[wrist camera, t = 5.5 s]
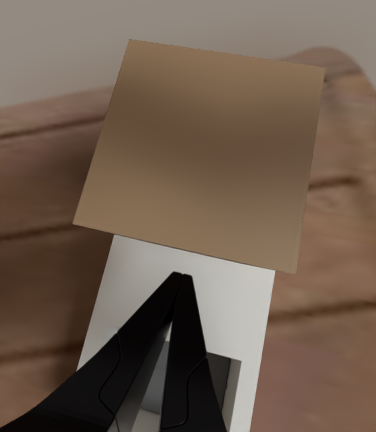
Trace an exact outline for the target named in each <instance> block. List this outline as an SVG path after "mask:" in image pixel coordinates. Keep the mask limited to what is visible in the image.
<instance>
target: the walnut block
mask: <svg viewBox="0 0 376 432" xmlns="http://www.w3.org/2000/svg"><path fill="white" fill-rule="evenodd" d="M324 75H325V67H318V66H311V65H304V64H297V63H290V62H283V61H276V60H270V59H262V58H255V57H248V56H242V55H235V54H228V53H221V52H214V51H207V50H200V49H193V48H186V47H179V46H172V45H166V44H159V43H152V42H145V41H137V40H131V39H129V42H128V46H127V49H126V52H125V55H124V59H123V61H122V65H121V68H120V71H119V74H118V78H117V81H116V84H115V87H114V91H113V94H112V97H111V100H110V104H109V107H108V110H107V113H106V117H105V120H104V123H103V126H102V129H101V133H100V136H99V139H98V142H97V146H96V149H95V152H94V155H93V159H92V162H91V165H90V168H89V172H88V175H87V178H86V181H85V185H84V188H83V191H82V194H81V197H80V201H79V204H78V207H77V210H76V214H75V217H74V220H73V223H72V224H75V225H79V226H83V227H87V228H91V229H95V230H99V231H103V232H107V233H111V234H115V235H119V236H123V237H127V238H131V239H135V240H139V241H143V242H148V243H152V244H157V245H161V246H165V247H170V248H174V249H178V250H183V251H187V252H192V253H196V254H200V255H205V256H209V257H214V258H218V259H222V260H227V261H231V262H235V263H240V264H245V265H250V266H255V267H260V268H265V269H270V270H275V271H280V272H285V273H290V274H296V267H297V260H298V253H299V246H300V240H301V233H302V226H303V219H304V212H305V205H306V198H307V192H308V185H309V178H310V171H311V164H312V157H313V150H314V144H315V137H316V130H317V123H318V116H319V109H320V103H321V96H322V89H323V82H324Z"/></svg>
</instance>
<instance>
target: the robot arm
mask: <svg viewBox="0 0 376 432" xmlns="http://www.w3.org/2000/svg"><path fill="white" fill-rule="evenodd" d="M171 323H172V325H171ZM170 326H171V332H170V340H169V348H168V356H167V363H166V371H165V379H164V387H163V395H162V403H161V411H160V419H159V427H158V432H227V429H226V426H225V423H224V420H223V416H222V413H221V410H220V406H219V403H218V399H217V396H216V392H215V388H214V384H213V380H212V375H211V371H210V366H209V361H208V358H207V351H206V345H205V340H204V335H203V329H202V324H201V319H200V314H199V308H198V303H197V298H196V292H195V287H194V282H193V277H192V275H188V274H183V275H182V273H180V272H176V271H173V272H172V273H171V274H170V275H169V276H168V277H167V278H166V279H165V280H164V281H163V283H162V284H161V285H160V286H159V287H158V288H157V289H156V290H155V291H154V292H153V293H152V294H151V296H150V297H149V298H148V299H147V300H146V301H145V302H144V303H143V304H142V305H141V306H140V307H139V308H138V310H137V311H136V312H135V313H134V314H133V315H132V316H131V317H130V318H129V319H128V320H127V321H126V323H125V324H124V325H123V326H122V327H121V328H120V329H119V330H118V331H117V333H115V334H114V335H113V336H112V338H111V339H110V340H109V341H108V342H107V343H106V344H105V345H104V346H103V347H102V348H101V349H100V350H99V351H98V352H97V353H96V354H95V355H94V356H93V357H92V358H91V359H90V360H88V361H87V362H86V363H85V364H84V365H83V366H82V367H81V368H80V369H78V370H77V371H76V372H75V373H74V374H73V375H72V376H71V377H69V378H68V379H67V380H66V381H65V382H64V383H63V384H61V385H60V386H59V387H58V388H57V389H56V390H55V391H54V392H52V393H51V394H50V395H49V396H48V397H47V398H45V399H44V400H43V401H42V402H41V403H39V404H38V405H37V406H35V407H34V408H33V409H31V410H30V411H28V412H27V413H25V414H24V415H22V416H20V417H19V418H17V419H15V420H13V421H11V422H10V423H8V424H6V425H4V426H3V427H1V428H0V432H131V430H132V428H133V425H134V422H135V420H136V417H137V415H138V412H139V409H140V407H141V404H142V401H143V399H144V396H145V393H146V391H147V388H148V385H149V383H150V380H151V377H152V375H153V372H154V369H155V367H156V364H157V361H158V359H159V356H160V353H161V351H162V348H163V345H164V343H165V340H166V337H167V335H168V332H169V329H170Z"/></svg>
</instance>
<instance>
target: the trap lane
mask: <svg viewBox="0 0 376 432" xmlns="http://www.w3.org/2000/svg"><path fill="white" fill-rule="evenodd" d="M173 271H176V272H180V273H182V275H183V274H188V275H192V277H193V282H194V287H195V292H196V298H197V303H198V308H199V314H200V319H201V324H202V329H203V335H204V340H205V345H206V351H207V358H208V361H209V366H210V371H211V375H212V380H213V384H214V388H215V392H216V396H217V399H218V403H219V406H220V410H221V407H222V411H221V413H222V416H223V420H224V423H225V426H226V429H227V432H249V431H250V424H251V418H252V412H253V406H254V399H255V393H256V387H257V381H258V375H259V368H260V362H261V356H262V350H263V343H264V337H265V331H266V325H267V318H268V312H269V306H270V300H271V294H272V287H273V281H274V275H275V270H270V269H265V268H260V267H255V266H250V265H245V264H240V263H235V262H231V261H227V260H222V259H218V258H214V257H209V256H205V255H200V254H196V253H192V252H187V251H183V250H178V249H174V248H170V247H165V246H161V245H157V244H152V243H148V242H143V241H139V240H135V239H131V238H127V237H123V236H119V235H115V234H114V238H113V241H112V245H111V248H110V252H109V256H108V259H107V263H106V267H105V270H104V274H103V277H102V281H101V285H100V288H99V292H98V295H97V299H96V303H95V306H94V310H93V313H92V317H91V321H90V324H89V328H88V331H87V335H86V339H85V342H84V346H83V349H82V353H81V357H80V360H79V364H78V367H77V370H78V369H80V368H81V367H82V366H83V365H84V364H85V363H86V362H87V361H88V360H90V359H91V358H92V357H93V356H94V355H95V354H96V353H97V352H98V351H99V350H100V349H101V348H102V347H103V346H104V345H105V344H106V343H107V342H108V341H109V340H110V339H111V338H112V336H113V335H114V334H115V333H117V331H118V330H119V328H121V327H122V326H123V325H124V324H125V323H126V321H127V320H128V319H129V318H130V317H131V316H132V315H133V314H134V313H135V312H136V311H137V310H138V308H139V307H140V306H141V305H142V304H143V303H144V302H145V301H146V300H147V299H148V298H149V297H150V296H151V294H152V293H153V292H154V291H155V290H156V289H157V288H158V287H159V286H160V285H161V284H162V283H163V281H164V280H165V279H166V278H167V277H168V276H169V275H170V274H171V273H172V272H173ZM171 325H172V323H171ZM170 332H171V326H170V329H169V332H168V335H167V337H166V340H165V343H164V345H163V348H162V351H161V353H160V356H159V359H158V361H157V364H156V367H155V369H154V372H153V375H152V377H151V380H150V383H149V385H148V388H147V391H146V393H145V396H144V399H143V401H142V404H141V407H140V409H139V412H138V415H137V417H136V420H135V422H134V425H133V428H132V430H131V432H158V427H159V419H160V411H161V403H162V395H163V387H164V379H165V371H166V363H167V356H168V348H169V340H170ZM230 358H231V361H230ZM229 363H230V366H229ZM228 369H229V372H228ZM227 374H228V378H227ZM226 380H227V382H226ZM224 391H225V394H224ZM223 396H224V400H223ZM222 402H223V405H222Z"/></svg>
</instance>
